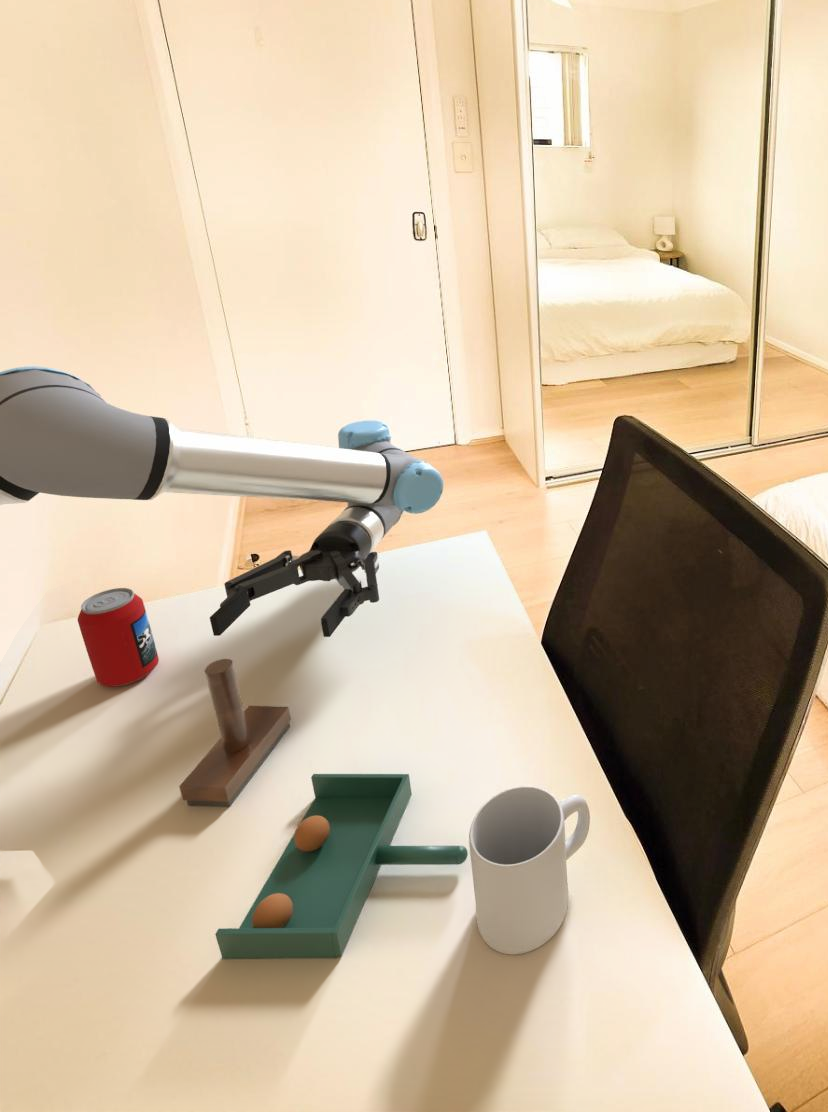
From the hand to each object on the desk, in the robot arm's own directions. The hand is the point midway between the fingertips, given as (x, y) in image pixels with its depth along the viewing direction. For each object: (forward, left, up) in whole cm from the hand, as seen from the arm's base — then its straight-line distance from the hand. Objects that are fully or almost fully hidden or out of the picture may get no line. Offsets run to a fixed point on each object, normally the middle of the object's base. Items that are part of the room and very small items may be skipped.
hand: (269, 627), depth 86 cm
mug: (+38, -26, -12) cm, 47 cm away
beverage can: (-24, +6, -12) cm, 27 cm away
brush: (0, -10, -12) cm, 15 cm away
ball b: (+14, -20, -10) cm, 26 cm away
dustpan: (+21, -22, -12) cm, 33 cm away
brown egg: (+14, -28, -10) cm, 33 cm away
